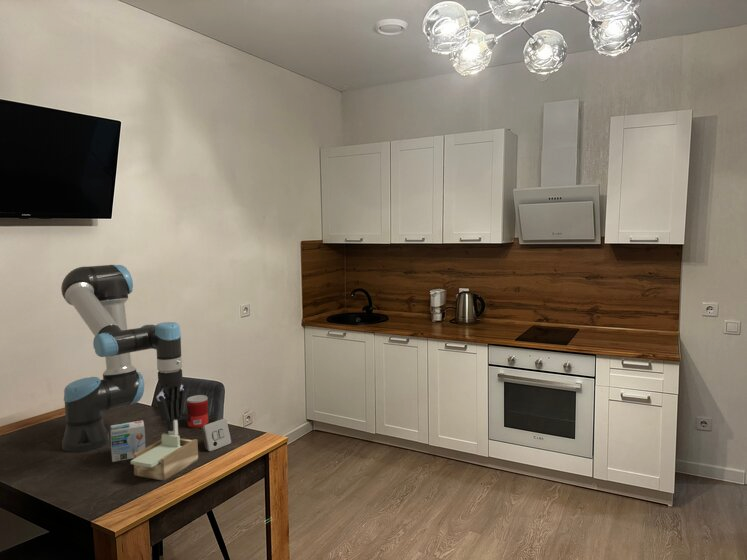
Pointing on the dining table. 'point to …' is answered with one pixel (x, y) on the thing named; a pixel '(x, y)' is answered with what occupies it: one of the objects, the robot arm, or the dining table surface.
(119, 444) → the light bulb box
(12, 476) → the dining table surface
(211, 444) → the electrical switch
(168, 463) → the pencil box
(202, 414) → the canned food
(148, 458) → the lid
